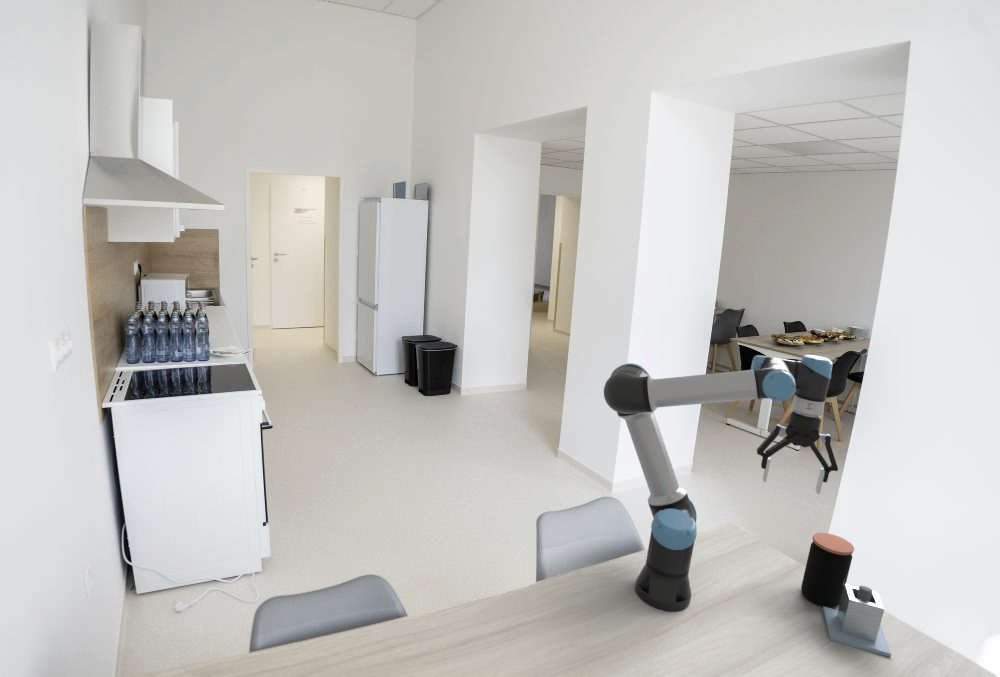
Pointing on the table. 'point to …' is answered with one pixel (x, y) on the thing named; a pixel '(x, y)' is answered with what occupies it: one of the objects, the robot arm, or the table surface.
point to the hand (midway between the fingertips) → (790, 485)
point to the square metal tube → (859, 614)
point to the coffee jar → (827, 569)
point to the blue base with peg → (837, 636)
